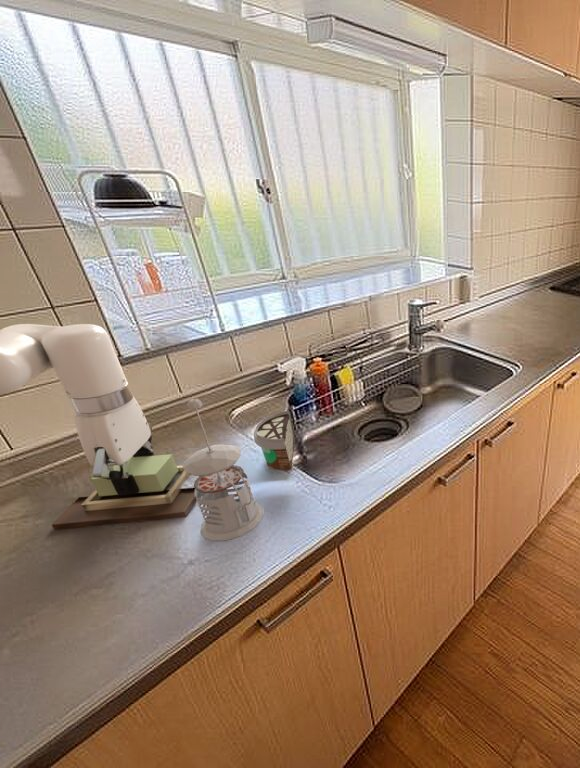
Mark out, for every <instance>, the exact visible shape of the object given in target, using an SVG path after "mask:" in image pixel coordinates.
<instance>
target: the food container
mask: <svg viewBox="0 0 580 768" xmlns="http://www.w3.org/2000/svg"><path fill="white" fill-rule="evenodd" d="M292 425H293V424H292V421H291V413H290V411H289V409H288V410H281V411H278V412H275V413H272V414H269V415H267V416H266V417H264V418H263V419H261V420H260V421H259V422H258V423H257V424H256V425H255V428H254V433H253V435H254V436H253V437H254V438H253V439H254V443H255V444H256V445H257V446H259V447H260V449H261V451H262V454H263V457H264V460H265V462H266V465H267V466H268V467H269V468H270V469H272V470H276V471H290V470H292V468H293V467H292V466H293V458H294V452H295V444H296V440H295V434H294V431H293V426H292Z"/></svg>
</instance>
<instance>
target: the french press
mask: <svg viewBox="0 0 580 768" xmlns="http://www.w3.org/2000/svg"><path fill="white" fill-rule="evenodd" d="M186 404H187V405H186V406H187V408H188V409H189V410H195V413H196V415H197V419H198V421H199V424H200V427H201V430H202V431H201V432H202V433H203V436H204V439H205V442H206V447H204V448H202V449H199V450H196V451H195V452H194V453H192V454H191V455H190V456H189V457H187V459H185V461H184V462H183V469H184V470H185V472H186V473H188V474H190V475H191V476H194V477H197V478H196V479H195V480H194V482H193V488H195V492H194V494H195V497H196V500H197V501H196V503H197V504H198V507H199V509H200V513H201V515H202V518H203V520H204V521H203V522H202V524H201V527H200V534H201V535H202V536H203V537H204V538H205V539H207V540H210V541H213V542H217V541H218V542H219V541H228V540H231V539H236V538H238V537H240V536H243V535H245V534H246V533H248V532H250V531H252V530H253V529H254V528H255V527H256V526H258V524H260V522H261V521H262V518H263V517H264V513H265V512H264V507H263V506H262V505H261V504H260V503H259V502H257V501H255V499H254V495H253V493H252V489H251V486H250V482H249V479H248V475H247V473H245V472H244V469H243V467H241V466H238V465H235V464H236V463H237V461H238V460H239V459H240V457H241V456H242V450H241V449H240V448H239V446H236V445H232V444H211V445H210V443H209V440H208V437H207V433H206V431H205V427H204V425H203V421H202V419H201V415H200V413H199V410H198V409H199V408H201V407H202V406H203V402H202V401H201V400H200V399H199V398H192V399H191V400H188V401H187V403H186ZM244 478H245V479H244ZM241 485H243V486H241ZM236 486H240V487H236ZM233 492H235V493H233ZM229 493H230V494H229ZM231 493H232V494H231ZM236 497H237V498H236Z"/></svg>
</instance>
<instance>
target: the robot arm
mask: <svg viewBox="0 0 580 768" xmlns="http://www.w3.org/2000/svg"><path fill="white" fill-rule="evenodd" d="M51 369H53V370H54V372H55V374H56V376H57V378H58V380H59V383H60V384H61V386H62V388H63V390H64V393H65V395H66V397H67V399H68V401H69V402H70V405H71V407H72V409H73V411H74V413H75V414H76V415H75V416H74V423H75V429H76V432H77V436H78V440H79V442H80V445H81V448H82V450H83V453H84V456H85V457H86V459H87V461H88V463H89V465H90V466H91V467H93V470H92V477H96V478H103V479H107V480H111V482H112V484H113V486H114V488H115V490H116V492H117V494H118V495H127V494H137V493H138V492H139V491H140V490H139V488H138V486H137V484H136V481H135V479H134V477H133V475H132V474H130V475H129V471H128V463H127V461H128V460H129V459H130V458H131V457H142V456H155V453H154V446H153V444H152V439H153V437H152V433H153V432H152V431H153V424H152V423H149V422H148V421H147V418H146V416H145V414H144V412H143V410H142V408H141V406H140V404H139V403H138V401H137V399H136V398H135V397H134V395H133V391H132V390H131V387H130V385H129V382H128V380H127V377H126V375H125V373H124V370H123V368H122V365H121V363H120V360H119V358H118V355H117V353H116V350H115V348H114V345H113V343H112V341H111V338H110V336H109V334H108V332H107V331H106V330H105V328H103V327H102V326H100V325H97V324H92V323H79V324H71V325H70V324H69V325H63V326H62V325H60V326H59V325H46V324H36V323H18V324H12V325H9V326H6V327H3V328H1V329H0V395H5V394H10V393H12V392H15V391H17V390H19V389H20V388H22V387H24V386H25V385H27V384H28V383H30V382H31V381H33V379H35V378H37V376H39V375H40V374H43V373H45V372H47V371H49V370H51ZM111 459H112V460H113V461H111ZM114 465H119V466H120V471H114V469H113V466H114Z"/></svg>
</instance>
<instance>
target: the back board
mask: <svg viewBox="0 0 580 768" xmlns="http://www.w3.org/2000/svg"><path fill="white" fill-rule="evenodd" d="M183 465H184V464H183ZM183 465H176V466H177V468H178V472H181V474H180V476H179V477H178V478H177V479H176V480H175V482H174V484H173V485H172V486H171V488H170V489H164V490H163V491H156V492H144V493H137V494H127V495H109V496H99V494H98V493H97V491H96V489H95V490H94V491H93V492H92V493H90V495H89V496H80V497H78V498H76V499H75V500H74V502H72V504H71V505H70V506H68V507H67V508H66V510H64V512H63V513H61V514H60V515H59V516H58V517H57V519H55V521H53V522H52V523H51V527H52V528H53V529H54V530H63V529H75V528H84V527H95V526H105V525H114V524H115V525H116V524H125V523H137V522H146V521H147V522H148V521H157V520H167V519H177V518H186V517H187V516H188V515H189V514H190V512H191V510H192V509H193V507H194V505H195V504H196V503H197V500H196V497H195V494H194V492H195V487H185V488H181V487H182V486H183V484H184V483H185V482H186V480H187V479H188V477H189V476H190V475H191V474H188V473H186V472H185V470H184V469H183ZM178 472H177V473H178Z"/></svg>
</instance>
